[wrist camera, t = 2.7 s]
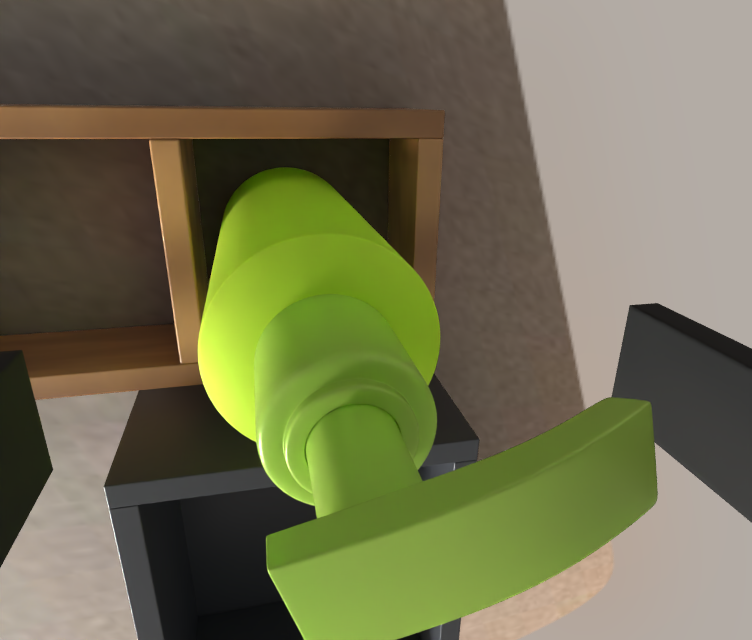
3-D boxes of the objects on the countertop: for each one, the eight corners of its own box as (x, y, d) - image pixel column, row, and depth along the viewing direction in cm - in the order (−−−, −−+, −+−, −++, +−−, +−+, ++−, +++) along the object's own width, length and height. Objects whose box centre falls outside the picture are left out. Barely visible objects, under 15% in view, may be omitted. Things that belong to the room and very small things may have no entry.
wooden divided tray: (-110, 102, 20) (-203, 103, 16) (411, 108, 24) (445, 110, 20) (-32, 358, 24) (-89, 411, 20) (404, 325, 28) (431, 363, 24)
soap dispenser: (384, 262, 26) (688, 617, 8) (250, 309, 26) (258, 804, 8) (350, 142, 24) (673, 273, 6) (200, 191, 23) (38, 509, 5)
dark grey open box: (143, 378, 26) (103, 486, 19) (421, 353, 29) (479, 439, 21) (183, 616, 32) (165, 767, 25) (410, 575, 35) (453, 700, 28)
